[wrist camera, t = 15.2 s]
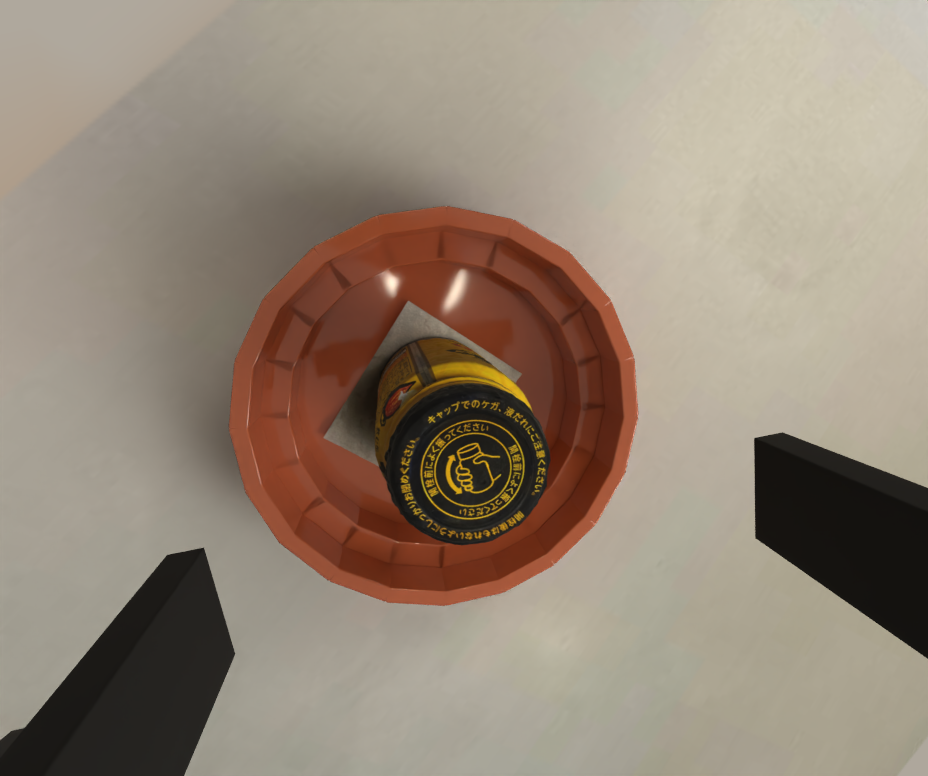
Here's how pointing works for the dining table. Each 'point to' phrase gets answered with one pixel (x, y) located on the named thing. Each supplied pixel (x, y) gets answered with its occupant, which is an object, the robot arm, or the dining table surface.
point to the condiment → (446, 432)
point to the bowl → (352, 348)
